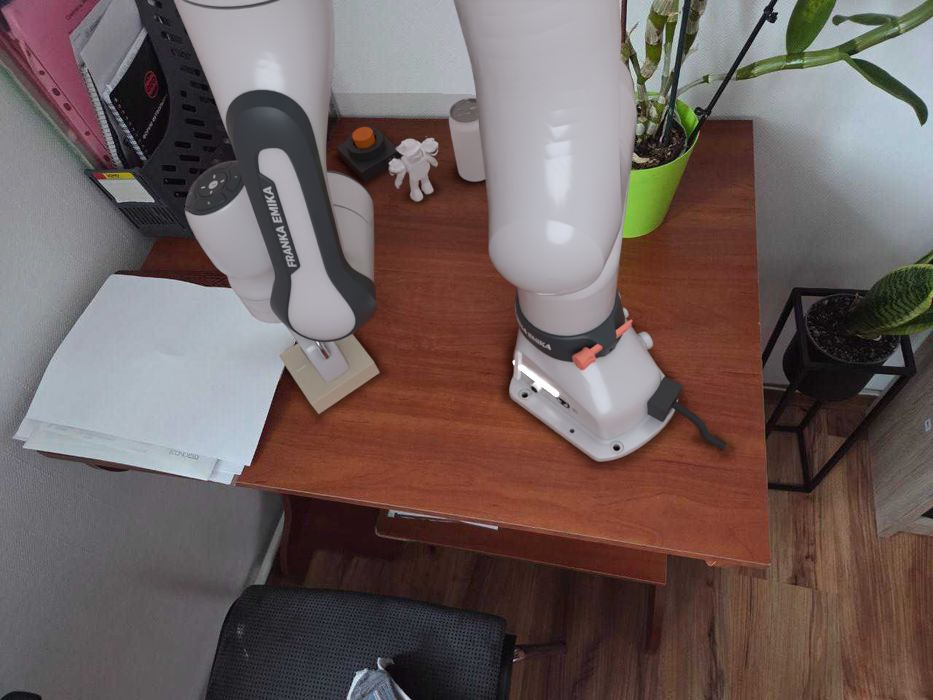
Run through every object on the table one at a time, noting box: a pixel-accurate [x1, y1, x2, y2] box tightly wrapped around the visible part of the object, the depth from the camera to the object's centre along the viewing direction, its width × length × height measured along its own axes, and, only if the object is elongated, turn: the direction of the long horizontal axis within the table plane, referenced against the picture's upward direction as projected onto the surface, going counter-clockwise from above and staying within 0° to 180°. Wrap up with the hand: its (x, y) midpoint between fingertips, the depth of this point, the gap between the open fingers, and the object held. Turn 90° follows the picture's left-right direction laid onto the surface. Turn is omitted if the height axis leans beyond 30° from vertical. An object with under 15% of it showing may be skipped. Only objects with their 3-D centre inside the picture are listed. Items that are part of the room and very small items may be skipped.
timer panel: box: [278, 333, 380, 415], centre depth 86 cm, size 10×10×3 cm
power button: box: [351, 126, 375, 149], centre depth 106 cm, size 4×4×2 cm
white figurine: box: [388, 137, 439, 202], centre depth 98 cm, size 9×4×12 cm, turn 126°
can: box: [448, 97, 486, 183], centre depth 99 cm, size 6×6×12 cm
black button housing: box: [336, 125, 403, 183], centre depth 108 cm, size 9×8×4 cm
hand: (316, 346), depth 84 cm, fingers open, 8 cm apart
